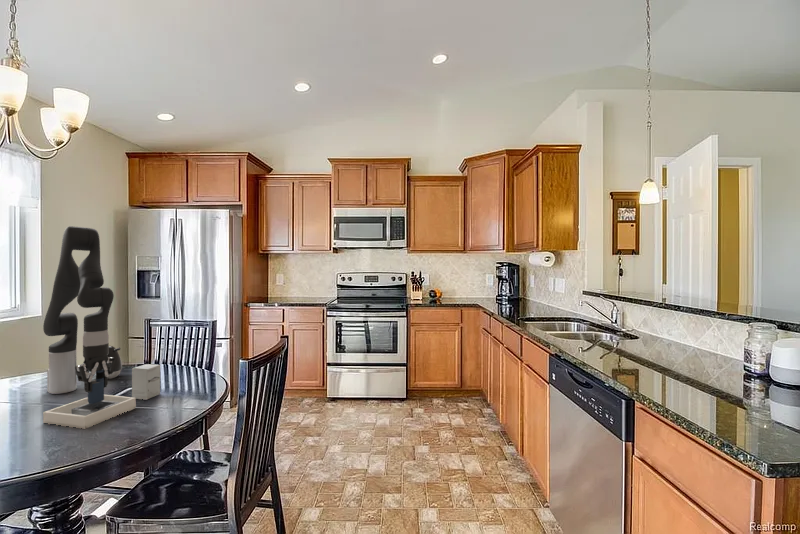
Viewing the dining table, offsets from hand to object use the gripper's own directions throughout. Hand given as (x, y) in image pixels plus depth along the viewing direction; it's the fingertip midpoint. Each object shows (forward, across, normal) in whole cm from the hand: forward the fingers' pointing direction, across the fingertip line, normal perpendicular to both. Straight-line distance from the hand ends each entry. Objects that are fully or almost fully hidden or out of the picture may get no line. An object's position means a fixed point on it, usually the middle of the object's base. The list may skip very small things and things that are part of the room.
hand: (96, 389), depth 150 cm
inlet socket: (+10, 0, 0) cm, 10 cm away
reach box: (+10, 0, -2) cm, 10 cm away
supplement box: (+10, -22, 0) cm, 24 cm away
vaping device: (+5, 0, 0) cm, 5 cm away
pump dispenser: (+10, -40, -39) cm, 57 cm away
